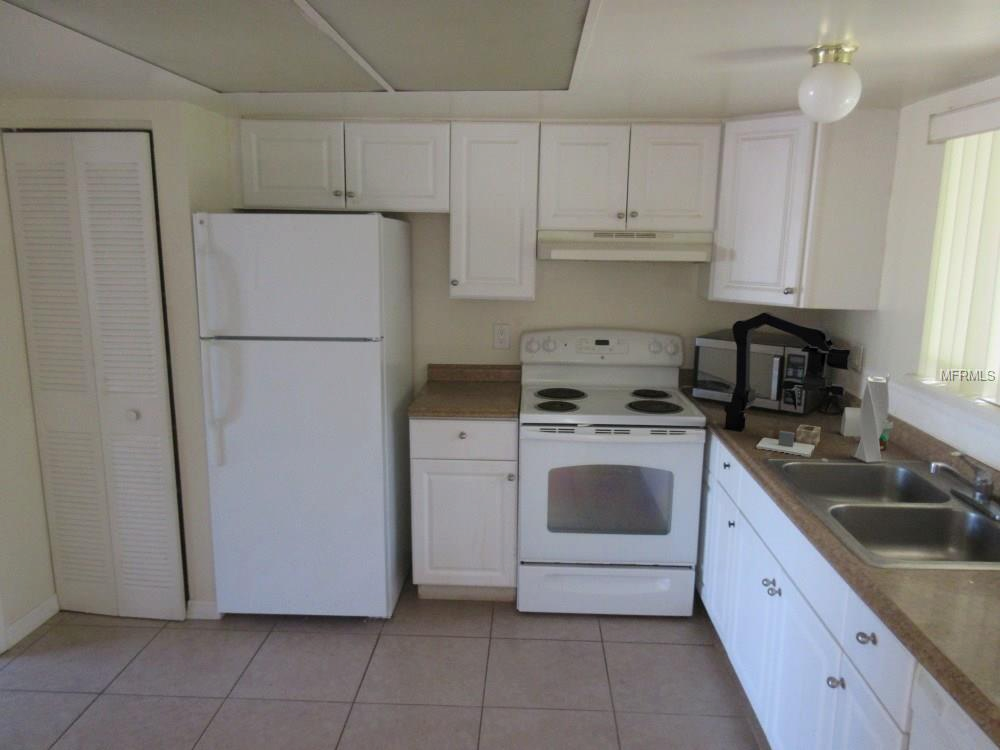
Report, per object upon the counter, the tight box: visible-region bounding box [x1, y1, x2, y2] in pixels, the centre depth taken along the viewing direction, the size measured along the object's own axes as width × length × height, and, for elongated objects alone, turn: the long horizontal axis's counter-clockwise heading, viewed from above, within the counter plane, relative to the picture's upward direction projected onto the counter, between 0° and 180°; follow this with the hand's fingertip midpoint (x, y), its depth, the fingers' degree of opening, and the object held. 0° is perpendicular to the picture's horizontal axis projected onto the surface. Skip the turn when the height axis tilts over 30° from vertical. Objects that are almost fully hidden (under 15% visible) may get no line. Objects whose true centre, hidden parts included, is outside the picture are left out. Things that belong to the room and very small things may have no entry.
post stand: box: [756, 430, 816, 458], centre depth 217 cm, size 16×12×6 cm
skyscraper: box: [850, 373, 890, 464], centre depth 204 cm, size 8×8×28 cm
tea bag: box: [839, 406, 861, 438], centre depth 235 cm, size 4×7×10 cm, turn 80°
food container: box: [879, 417, 894, 452], centre depth 220 cm, size 12×6×10 cm, turn 168°
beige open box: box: [794, 424, 822, 448], centre depth 225 cm, size 6×8×5 cm
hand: (810, 411), depth 223 cm, fingers open, 9 cm apart
